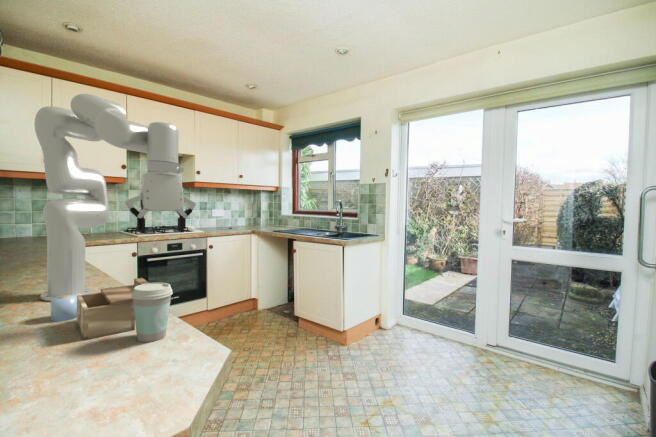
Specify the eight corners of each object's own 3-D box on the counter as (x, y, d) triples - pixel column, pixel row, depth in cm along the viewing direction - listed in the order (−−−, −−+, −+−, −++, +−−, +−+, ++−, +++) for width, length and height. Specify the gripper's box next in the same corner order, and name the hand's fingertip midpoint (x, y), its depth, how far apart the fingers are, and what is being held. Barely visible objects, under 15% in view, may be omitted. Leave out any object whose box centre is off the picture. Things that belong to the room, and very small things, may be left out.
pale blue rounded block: (50, 317, 84) (50, 296, 84) (76, 312, 88) (77, 293, 88) (51, 323, 80) (51, 301, 80) (79, 318, 84) (79, 297, 84)
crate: (76, 322, 81) (77, 295, 81) (122, 314, 88) (122, 289, 87) (83, 340, 71) (84, 309, 70) (134, 329, 78) (135, 301, 77)
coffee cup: (154, 346, 69) (155, 292, 68) (121, 342, 71) (121, 289, 70) (179, 332, 77) (180, 283, 77) (149, 328, 79) (150, 280, 79)
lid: (100, 291, 84) (100, 281, 84) (142, 286, 91) (143, 276, 91) (110, 305, 74) (111, 293, 74) (157, 297, 81) (157, 287, 81)
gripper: (190, 173, 94) (190, 230, 95) (122, 167, 83) (122, 232, 83) (200, 172, 89) (199, 232, 89) (128, 165, 77) (128, 234, 78)
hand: (162, 232), depth 86 cm, fingers open, 9 cm apart
